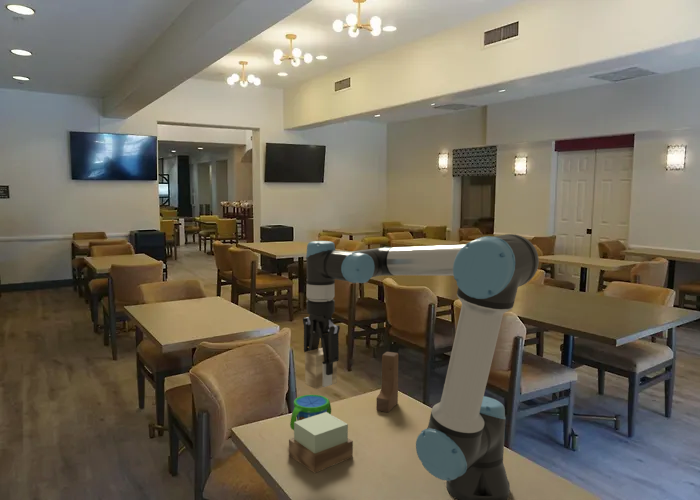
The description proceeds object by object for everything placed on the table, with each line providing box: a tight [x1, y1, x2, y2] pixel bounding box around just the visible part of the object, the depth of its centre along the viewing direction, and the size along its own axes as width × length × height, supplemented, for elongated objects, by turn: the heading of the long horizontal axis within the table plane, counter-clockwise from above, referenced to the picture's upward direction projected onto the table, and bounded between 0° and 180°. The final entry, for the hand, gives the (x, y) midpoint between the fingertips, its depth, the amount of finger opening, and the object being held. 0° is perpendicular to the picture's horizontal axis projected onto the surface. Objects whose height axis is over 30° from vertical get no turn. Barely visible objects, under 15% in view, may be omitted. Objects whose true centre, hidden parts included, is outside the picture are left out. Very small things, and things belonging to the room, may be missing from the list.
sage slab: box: [293, 412, 349, 453], centre depth 144 cm, size 10×11×5 cm
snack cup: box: [289, 394, 332, 431], centre depth 158 cm, size 16×10×10 cm
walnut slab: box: [288, 437, 354, 474], centre depth 145 cm, size 12×13×5 cm
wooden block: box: [375, 351, 399, 413], centre depth 178 cm, size 9×4×18 cm, turn 154°
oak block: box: [304, 347, 338, 390], centre depth 143 cm, size 5×7×9 cm
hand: (320, 382), depth 143 cm, fingers closed on oak block, 5 cm apart
